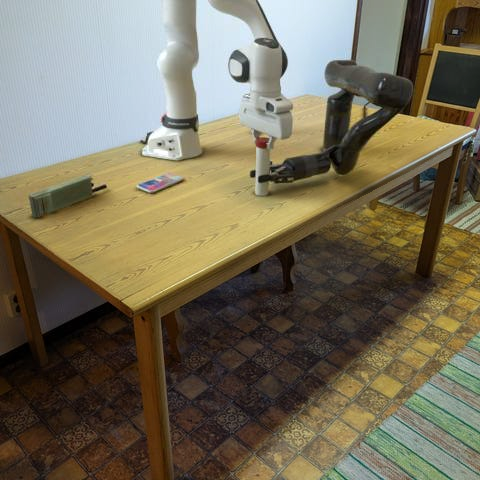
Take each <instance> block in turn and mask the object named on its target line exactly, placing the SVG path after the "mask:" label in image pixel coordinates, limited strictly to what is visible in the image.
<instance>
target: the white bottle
mask: <svg viewBox="0 0 480 480" xmlns="http://www.w3.org/2000/svg"><path fill="white" fill-rule="evenodd" d="M255 148H256V149H255V151H256V152H255V170H256V177H255V184H254V186H255V187H254V188H255V190H254V194H255V195H256V196H260V197H265V196H267V195H269V185H270V181H268V182H264V183H259V182H258V176H260V175H265V174H269V164H270V161H271V160H270V159H271V150H270V149H267V148H259V147H257V146H256V145H255Z"/></svg>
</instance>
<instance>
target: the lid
mask: <svg viewBox="0 0 480 480" xmlns="http://www.w3.org/2000/svg"><path fill="white" fill-rule="evenodd" d="M259 137H260V138H257V139H256V144H255V147H256V146H257V147H259V148H266V143H268V142H269V140H270V139H269V137H267V136H266V137H265V136H264V137H261V136H259Z"/></svg>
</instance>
